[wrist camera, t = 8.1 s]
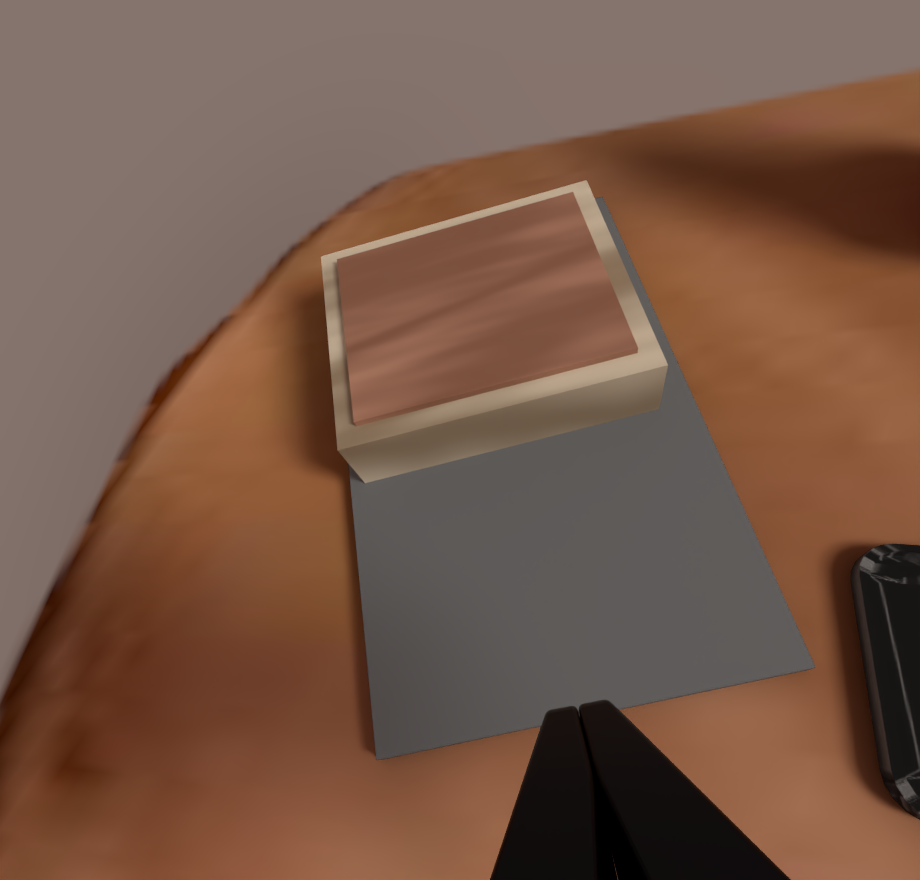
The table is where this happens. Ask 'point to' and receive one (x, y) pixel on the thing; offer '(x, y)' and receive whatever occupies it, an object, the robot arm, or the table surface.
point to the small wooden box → (485, 335)
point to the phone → (892, 661)
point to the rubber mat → (564, 576)
